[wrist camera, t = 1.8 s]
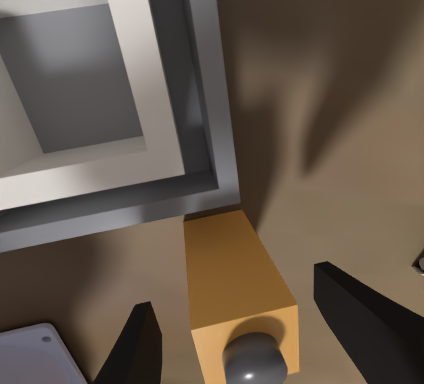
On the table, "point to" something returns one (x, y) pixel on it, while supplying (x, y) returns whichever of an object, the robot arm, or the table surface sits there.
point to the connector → (238, 304)
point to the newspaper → (423, 265)
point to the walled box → (110, 116)
